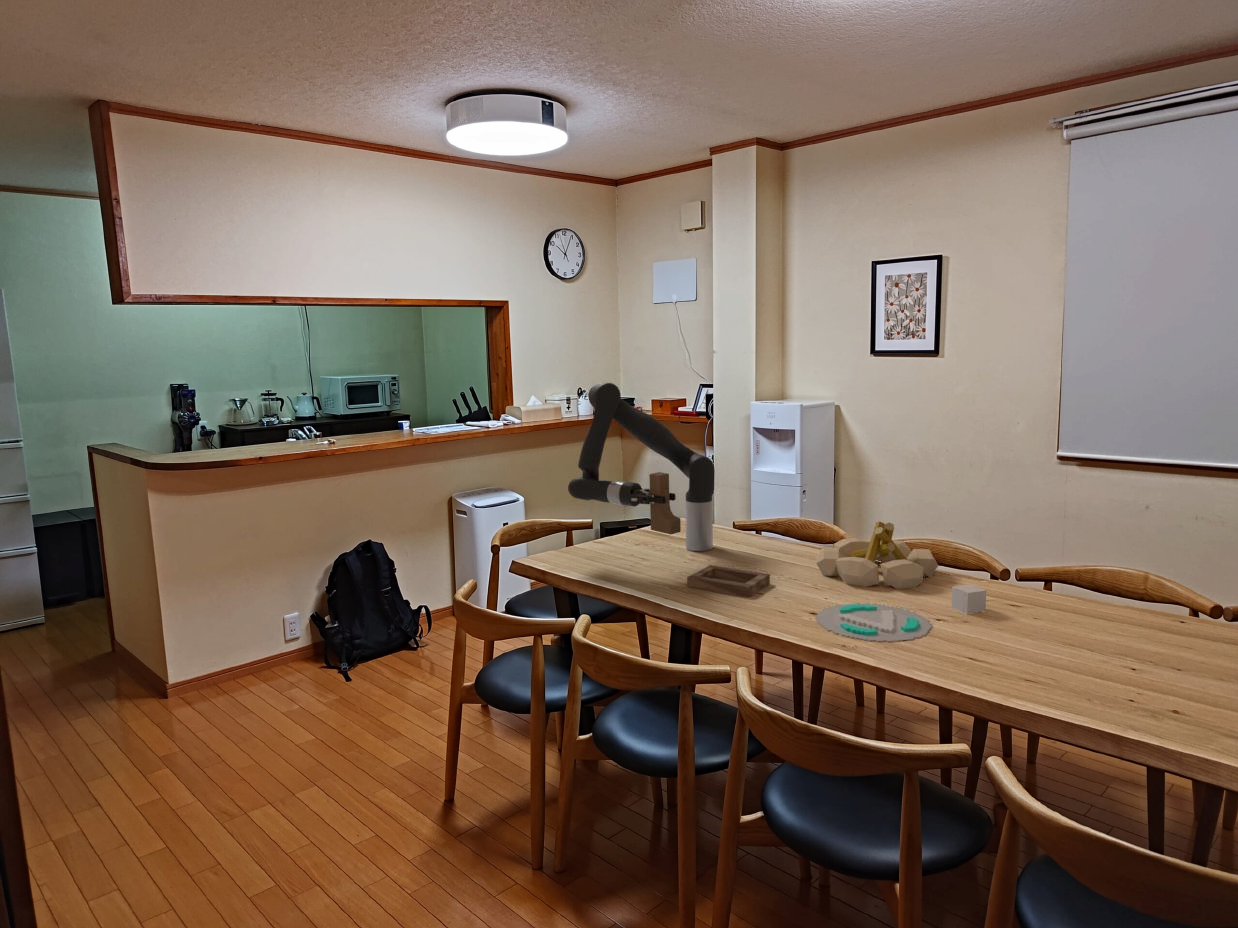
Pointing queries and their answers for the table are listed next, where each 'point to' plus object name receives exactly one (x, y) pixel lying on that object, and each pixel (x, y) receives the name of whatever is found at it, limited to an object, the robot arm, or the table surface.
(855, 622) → the grey flat disc
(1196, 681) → the table surface
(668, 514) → the wooden block
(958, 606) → the gray cube
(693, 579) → the brown rectangular tray
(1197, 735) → the table surface
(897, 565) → the campfire
